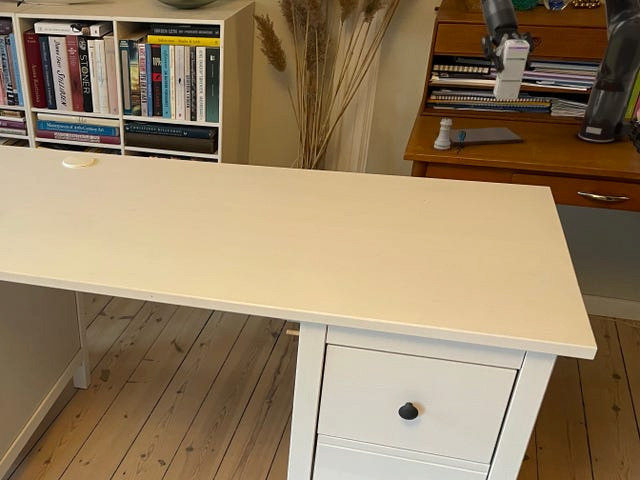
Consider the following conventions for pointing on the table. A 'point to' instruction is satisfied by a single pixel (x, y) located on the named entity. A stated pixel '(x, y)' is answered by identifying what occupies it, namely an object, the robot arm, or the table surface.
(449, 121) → the rook chess piece
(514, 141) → the grey rectangular panel
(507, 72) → the syrup box
